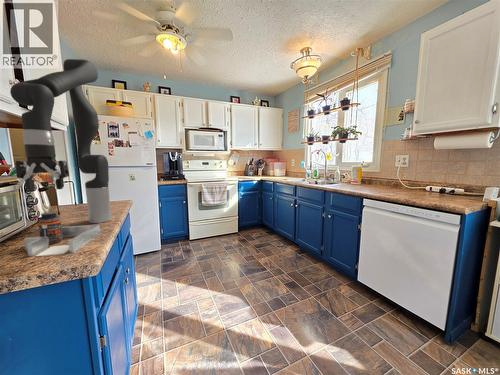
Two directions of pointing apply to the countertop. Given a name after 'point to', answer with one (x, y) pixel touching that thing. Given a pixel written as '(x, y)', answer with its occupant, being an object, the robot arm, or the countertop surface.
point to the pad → (55, 250)
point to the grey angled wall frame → (78, 232)
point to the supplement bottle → (50, 227)
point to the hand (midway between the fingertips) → (45, 189)
